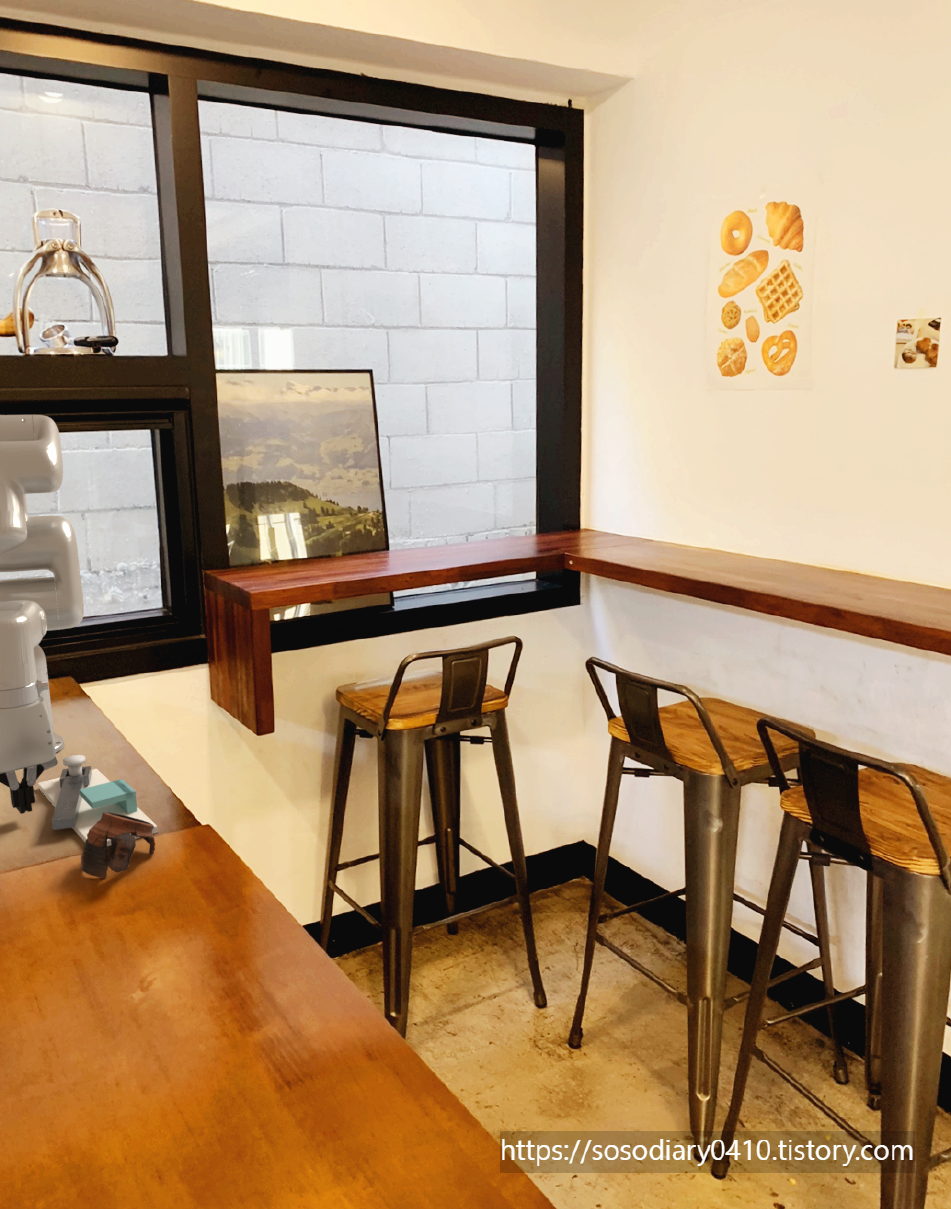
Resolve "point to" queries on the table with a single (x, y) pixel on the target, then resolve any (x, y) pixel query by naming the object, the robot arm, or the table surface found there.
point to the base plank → (86, 813)
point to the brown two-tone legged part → (113, 843)
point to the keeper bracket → (111, 795)
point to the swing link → (70, 798)
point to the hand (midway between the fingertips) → (24, 809)
